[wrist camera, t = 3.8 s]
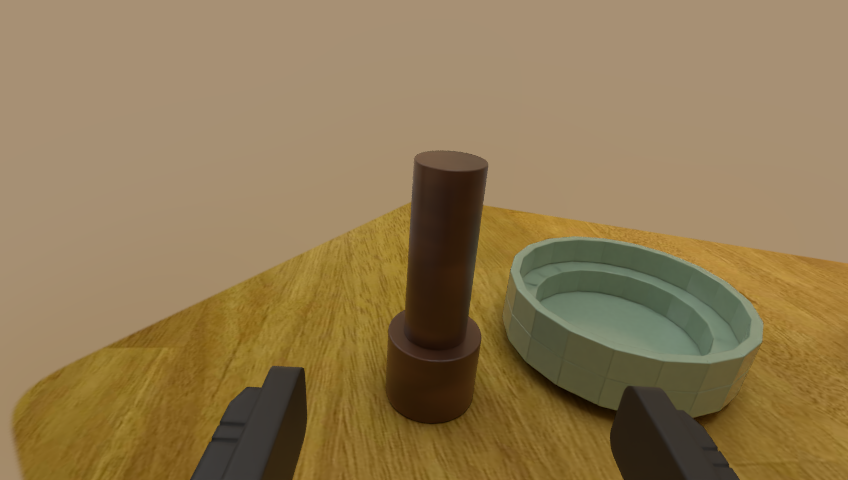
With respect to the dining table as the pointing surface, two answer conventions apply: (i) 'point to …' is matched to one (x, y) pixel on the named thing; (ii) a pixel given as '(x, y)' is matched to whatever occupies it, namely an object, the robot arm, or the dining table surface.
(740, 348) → the bowl
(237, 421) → the robot arm
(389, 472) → the dining table surface
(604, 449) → the dining table surface
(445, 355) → the pestle
